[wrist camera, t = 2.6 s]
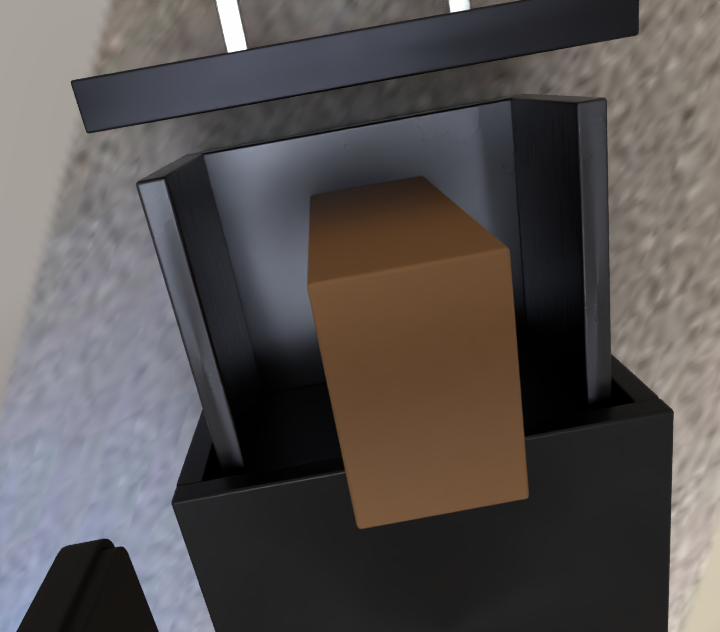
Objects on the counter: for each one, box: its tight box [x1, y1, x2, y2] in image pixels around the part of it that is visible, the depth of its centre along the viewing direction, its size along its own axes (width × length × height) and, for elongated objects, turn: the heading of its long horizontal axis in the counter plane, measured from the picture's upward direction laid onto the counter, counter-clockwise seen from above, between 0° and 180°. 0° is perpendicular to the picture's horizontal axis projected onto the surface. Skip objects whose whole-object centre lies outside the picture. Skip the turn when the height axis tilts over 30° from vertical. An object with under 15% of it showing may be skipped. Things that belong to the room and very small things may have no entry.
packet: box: [307, 176, 529, 529], centre depth 17 cm, size 4×6×10 cm, turn 9°
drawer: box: [71, 0, 639, 478], centre depth 19 cm, size 17×13×7 cm
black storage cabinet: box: [171, 354, 674, 632], centre depth 24 cm, size 14×15×9 cm
